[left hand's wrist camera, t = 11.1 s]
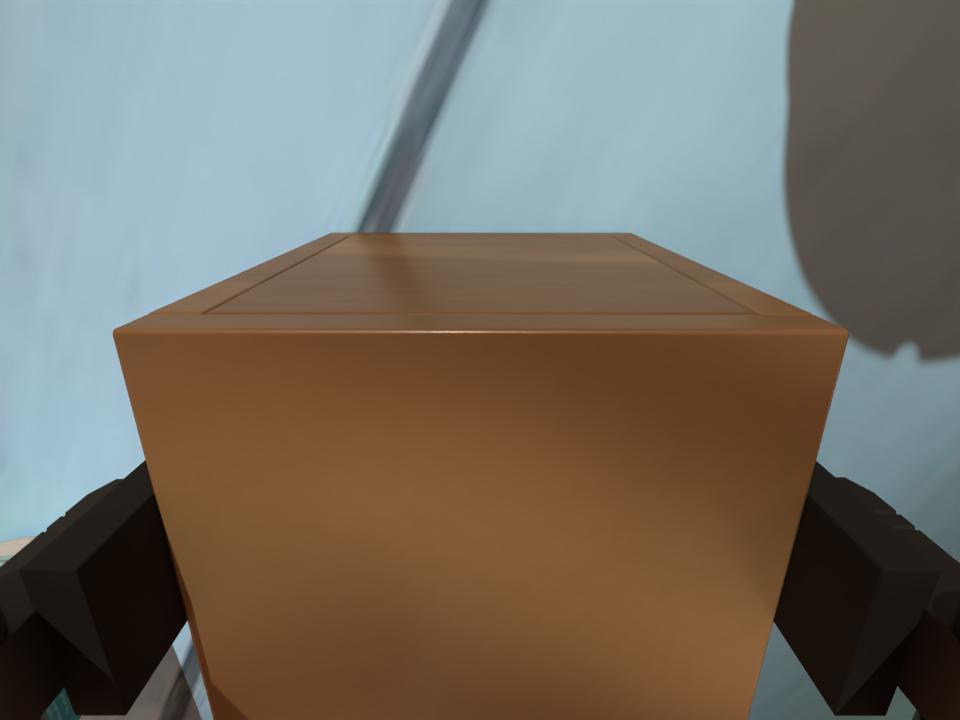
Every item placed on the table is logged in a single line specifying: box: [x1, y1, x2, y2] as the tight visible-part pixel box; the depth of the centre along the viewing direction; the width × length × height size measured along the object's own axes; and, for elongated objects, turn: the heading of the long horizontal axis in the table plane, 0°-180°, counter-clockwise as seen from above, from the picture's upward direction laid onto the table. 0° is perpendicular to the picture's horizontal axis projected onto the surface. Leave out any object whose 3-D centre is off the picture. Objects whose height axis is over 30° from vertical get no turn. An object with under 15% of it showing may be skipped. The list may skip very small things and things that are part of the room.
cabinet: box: [113, 233, 849, 720], centre depth 16 cm, size 17×10×11 cm, turn 0°
